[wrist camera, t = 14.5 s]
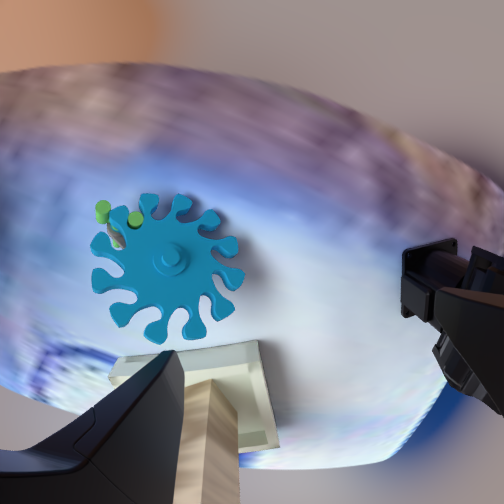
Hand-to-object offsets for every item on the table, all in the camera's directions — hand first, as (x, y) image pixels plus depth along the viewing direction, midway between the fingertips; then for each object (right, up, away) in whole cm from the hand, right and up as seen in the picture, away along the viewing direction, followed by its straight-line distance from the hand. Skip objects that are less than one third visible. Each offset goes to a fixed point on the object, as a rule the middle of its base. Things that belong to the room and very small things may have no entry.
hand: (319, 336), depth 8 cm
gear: (-8, +3, +12) cm, 15 cm away
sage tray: (-7, -12, +16) cm, 21 cm away
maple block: (-7, -12, +15) cm, 20 cm away
